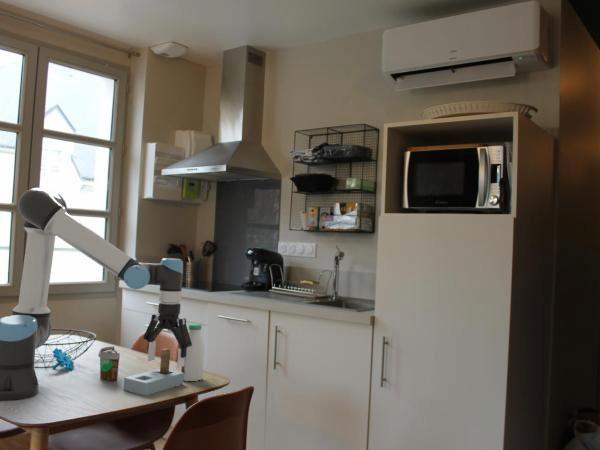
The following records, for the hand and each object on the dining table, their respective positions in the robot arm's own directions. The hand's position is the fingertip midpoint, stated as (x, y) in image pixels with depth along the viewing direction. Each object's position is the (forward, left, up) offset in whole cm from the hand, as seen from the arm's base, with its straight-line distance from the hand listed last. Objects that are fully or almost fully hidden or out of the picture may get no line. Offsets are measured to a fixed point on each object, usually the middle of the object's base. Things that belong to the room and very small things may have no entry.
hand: (165, 363), depth 193 cm
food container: (-8, +20, -7) cm, 23 cm away
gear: (-9, +41, -7) cm, 42 cm away
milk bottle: (+11, -3, -7) cm, 14 cm away
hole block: (-5, 0, -7) cm, 9 cm away
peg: (0, 0, -7) cm, 7 cm away
